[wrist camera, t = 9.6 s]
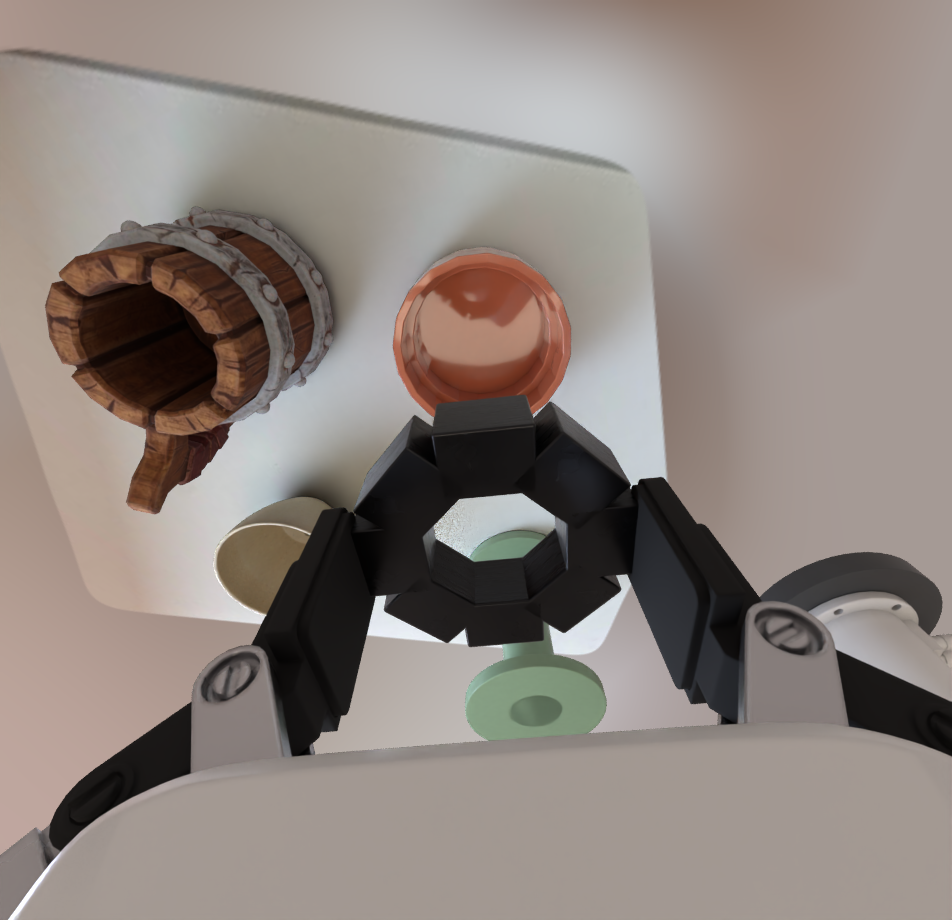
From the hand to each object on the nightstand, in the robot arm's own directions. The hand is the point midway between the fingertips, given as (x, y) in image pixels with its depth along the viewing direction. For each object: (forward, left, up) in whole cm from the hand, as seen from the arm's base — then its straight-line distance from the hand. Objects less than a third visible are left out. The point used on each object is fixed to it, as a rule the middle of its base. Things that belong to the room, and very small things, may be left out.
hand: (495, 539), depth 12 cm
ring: (0, 0, -1) cm, 1 cm away
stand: (-1, +24, -23) cm, 33 cm away
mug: (+16, -2, -23) cm, 28 cm away
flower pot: (+17, +15, -23) cm, 32 cm away
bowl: (0, 0, -23) cm, 23 cm away
